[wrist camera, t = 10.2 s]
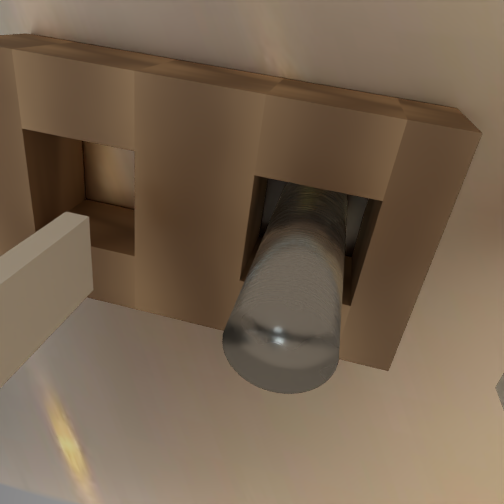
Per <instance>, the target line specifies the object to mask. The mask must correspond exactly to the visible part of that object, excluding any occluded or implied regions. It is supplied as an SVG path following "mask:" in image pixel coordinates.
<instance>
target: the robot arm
mask: <svg viewBox="0 0 504 504" xmlns="http://www.w3.org/2000/svg"><path fill="white" fill-rule="evenodd" d="M92 291H93V276H92V259H91V242H90V225H89V217H88V216H84V215H79V214H75V213H70V212H65V213H63V214H62V215H60V216H59V217H57V218H56V219H54V220H53V221H51V222H50V223H49V224H47V225H46V226H44V227H43V228H41V229H40V230H38V231H37V232H35V233H34V234H32V235H31V236H30V237H28V238H27V239H25V240H24V241H22V242H21V243H19V244H18V245H16V246H15V247H14V248H12V249H11V250H9V251H8V252H6V253H5V254H3V255H2V256H0V388H1V387H2V386H3V385H4V384H5V383H6V382H7V381H8V380H9V378H10V377H11V376H12V375H13V374H14V373H15V372H16V371H17V370H18V369H19V368H20V367H21V366H22V365H23V364H24V363H25V362H26V361H27V359H28V358H29V357H30V356H31V355H32V354H33V353H34V352H35V351H36V350H37V349H38V348H39V347H40V346H41V345H42V344H43V343H44V342H45V340H46V339H47V338H48V337H49V336H50V335H51V334H52V333H53V332H54V331H55V330H56V329H57V328H58V327H59V326H60V325H61V324H62V323H63V321H64V320H65V319H66V318H67V317H68V316H69V315H70V314H71V313H72V312H73V311H74V310H75V309H76V308H77V307H78V306H79V305H80V304H81V303H82V301H83V300H84V299H85V298H86V297H87V296H88V295H89V294H90V293H91V292H92ZM495 388H496V390H497V393H498V396H499V398H500V401H501V404H502V407H503V409H504V373H503V375H502V377H501V379H500V380H499V382H498V384H497V386H496V387H495Z"/></svg>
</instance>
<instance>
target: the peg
mask: <svg viewBox="0 0 504 504" xmlns="http://www.w3.org/2000/svg"><path fill="white" fill-rule="evenodd" d="M346 221H347V196H346V194H345V193H340V192H335V191H330V190H325V189H320V188H315V187H310V186H305V185H300V184H295V183H290V182H288V183H287V184H286V186H285V187H284V189H283V191H282V194H281V196H280V199H279V201H278V203H277V206H276V208H275V210H274V213H273V215H272V218H271V220H270V222H269V225H268V227H267V229H266V232H265V234H264V236H263V239H262V241H261V244H260V246H259V248H258V251H257V253H256V255H255V258H254V260H253V263H252V265H251V267H250V270H249V272H248V274H247V277H246V279H245V282H244V284H243V286H242V289H241V291H240V293H239V296H238V298H237V300H236V303H235V305H234V308H233V310H232V312H231V315H230V317H229V319H228V322H227V324H226V327H225V329H224V333H223V341H222V342H223V349H224V353H225V355H226V358H227V360H228V362H229V363H230V365H231V366H232V367H233V369H234V370H235V371H236V372H237V373H238V374H239V375H240V376H241V377H243V378H244V379H245V380H247V381H248V382H250V383H251V384H253V385H255V386H257V387H259V388H262V389H265V390H268V391H271V392H276V393H284V394H294V393H302V392H307V391H310V390H313V389H315V388H317V387H319V386H321V385H322V384H324V383H325V382H326V381H327V380H328V379H329V378H330V377H331V376H332V375H333V373H334V371H335V370H336V367H337V365H338V360H339V348H340V330H341V311H342V293H343V275H344V257H345V239H346Z"/></svg>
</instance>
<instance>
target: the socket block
mask: <svg viewBox="0 0 504 504" xmlns="http://www.w3.org/2000/svg"><path fill="white" fill-rule="evenodd" d="M481 136H482V132H481V131H480V130H479V129H478V128H477V127H476V126H475V125H474V124H472V123H471V122H470V121H469V120H468V119H467V118H466V117H465V116H464V115H463V114H462V113H461V112H460V111H459V110H458V109H457V108H452V107H446V106H440V105H434V104H429V103H423V102H417V101H411V100H406V99H400V98H394V97H388V96H383V95H377V94H371V93H366V92H360V91H354V90H348V89H343V88H337V87H331V86H325V85H320V84H314V83H308V82H302V81H297V80H291V79H285V78H279V77H274V76H268V75H262V74H256V73H251V72H245V71H239V70H233V69H228V68H222V67H216V66H210V65H205V64H199V63H193V62H187V61H182V60H176V59H170V58H164V57H159V56H153V55H147V54H141V53H136V52H130V51H124V50H118V49H113V48H107V47H101V46H95V45H90V44H84V43H78V42H72V41H67V40H61V39H55V38H49V37H44V36H38V35H32V34H13V35H0V256H2V255H3V254H5V253H6V252H8V251H9V250H11V249H12V248H14V247H15V246H16V245H18V244H19V243H21V242H22V241H24V240H25V239H27V238H28V237H30V236H31V235H32V234H34V233H35V232H37V231H38V230H40V229H41V228H43V227H44V226H46V225H47V224H49V223H50V222H51V221H53V220H54V219H56V218H57V217H59V216H60V215H62V214H63V213H65V212H70V213H75V214H79V215H84V216H88V217H89V225H90V242H91V259H92V276H93V291H92V292H91V293H90V294H89V295H88V296H87V297H88V298H92V299H96V300H100V301H105V302H109V303H113V304H117V305H121V306H125V307H129V308H133V309H137V310H141V311H145V312H149V313H153V314H158V315H162V316H166V317H170V318H174V319H178V320H182V321H186V322H190V323H194V324H198V325H202V326H206V327H211V328H215V329H219V330H223V331H224V329H225V327H226V324H227V322H228V319H229V317H230V315H231V312H232V310H233V308H234V305H235V303H236V300H237V298H238V296H239V293H240V291H241V289H242V286H243V284H244V282H245V279H246V277H247V274H248V272H249V270H250V267H251V265H252V263H253V260H254V258H255V255H256V253H257V251H258V248H259V246H260V244H261V241H262V239H263V238H261V237H259V232H260V225H261V219H262V213H263V206H264V200H265V194H266V188H267V181H268V178H270V179H275V180H280V181H285V182H290V183H295V184H300V185H305V186H310V187H315V188H320V189H325V190H330V191H335V192H340V193H345V194H350V195H355V196H360V197H365V198H369V199H368V202H367V206H366V209H365V213H364V216H363V220H362V223H361V227H360V230H359V234H358V237H357V241H356V244H355V248H354V251H353V255H352V257H348V256H345V257H344V275H343V293H342V311H341V330H340V348H339V359H341V360H345V361H349V362H353V363H357V364H361V365H366V366H370V367H374V368H378V369H382V370H386V371H389V368H390V366H391V363H392V361H393V358H394V355H395V353H396V350H397V348H398V345H399V343H400V340H401V338H402V335H403V333H404V330H405V328H406V325H407V323H408V320H409V318H410V315H411V313H412V310H413V308H414V305H415V302H416V300H417V297H418V295H419V292H420V290H421V287H422V285H423V282H424V280H425V277H426V275H427V272H428V270H429V267H430V265H431V262H432V260H433V257H434V254H435V252H436V249H437V247H438V244H439V242H440V239H441V237H442V234H443V232H444V229H445V227H446V224H447V222H448V219H449V217H450V214H451V212H452V209H453V207H454V204H455V201H456V199H457V196H458V194H459V191H460V189H461V186H462V184H463V181H464V179H465V176H466V174H467V171H468V169H469V166H470V164H471V161H472V159H473V156H474V154H475V151H476V148H477V146H478V143H479V141H480V138H481ZM82 141H87V142H92V143H97V144H102V145H107V146H112V147H117V148H122V149H127V150H131V151H135V210H132V209H128V208H123V207H119V206H114V205H109V204H105V203H100V202H96V201H91V200H86V199H85V185H84V169H83V153H82Z"/></svg>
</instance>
